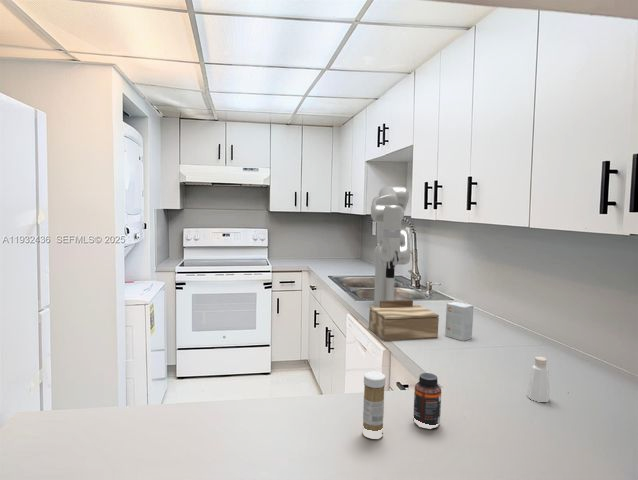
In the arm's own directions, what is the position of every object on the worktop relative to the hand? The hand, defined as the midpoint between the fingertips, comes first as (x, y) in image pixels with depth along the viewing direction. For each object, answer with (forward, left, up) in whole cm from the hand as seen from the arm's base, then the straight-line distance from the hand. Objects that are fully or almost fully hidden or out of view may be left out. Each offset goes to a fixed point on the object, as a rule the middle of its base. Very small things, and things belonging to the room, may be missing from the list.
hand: (389, 277), depth 175 cm
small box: (+22, +20, -20) cm, 36 cm away
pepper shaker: (+73, +11, -20) cm, 76 cm away
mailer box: (+14, 0, -20) cm, 24 cm away
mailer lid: (+14, 0, -12) cm, 18 cm away
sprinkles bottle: (+81, -39, -20) cm, 92 cm away
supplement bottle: (+79, -25, -20) cm, 85 cm away
